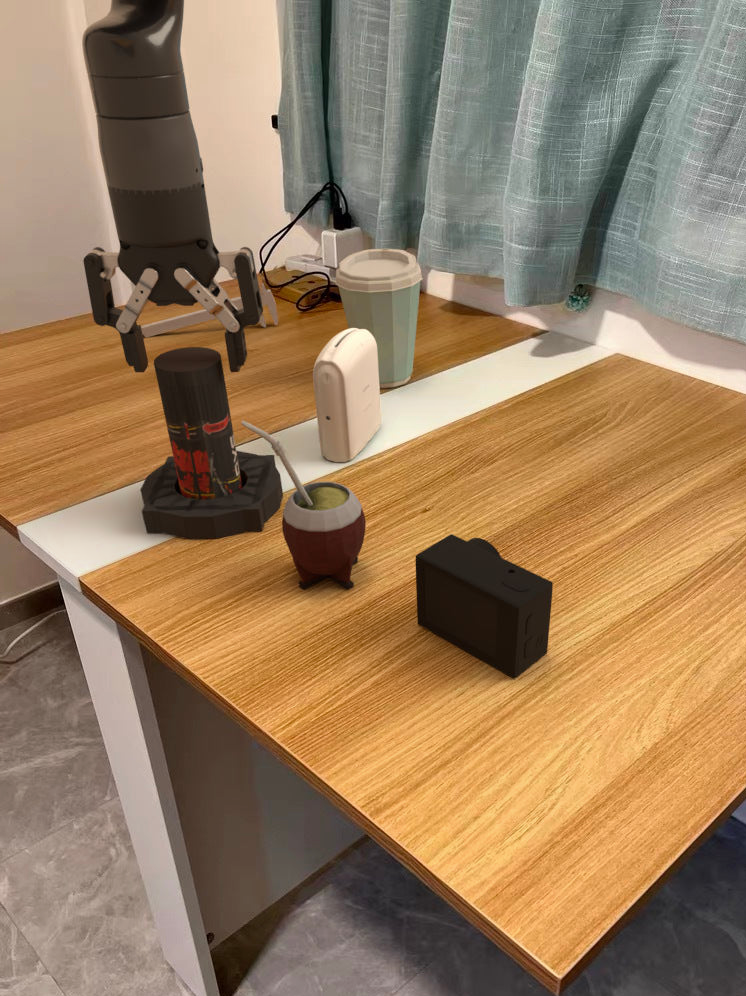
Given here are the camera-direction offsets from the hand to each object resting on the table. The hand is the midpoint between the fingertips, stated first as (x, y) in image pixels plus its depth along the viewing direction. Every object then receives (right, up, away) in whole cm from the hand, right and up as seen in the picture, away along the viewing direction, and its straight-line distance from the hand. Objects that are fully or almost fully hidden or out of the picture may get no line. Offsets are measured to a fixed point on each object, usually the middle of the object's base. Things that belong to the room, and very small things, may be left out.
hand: (189, 369), depth 81 cm
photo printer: (+13, -3, +19) cm, 23 cm away
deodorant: (0, -11, +9) cm, 14 cm away
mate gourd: (+13, -19, -2) cm, 23 cm away
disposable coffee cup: (+15, +7, +34) cm, 38 cm away
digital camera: (+27, -24, -9) cm, 37 cm away
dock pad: (0, -11, +8) cm, 14 cm away
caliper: (-11, +18, +48) cm, 52 cm away
